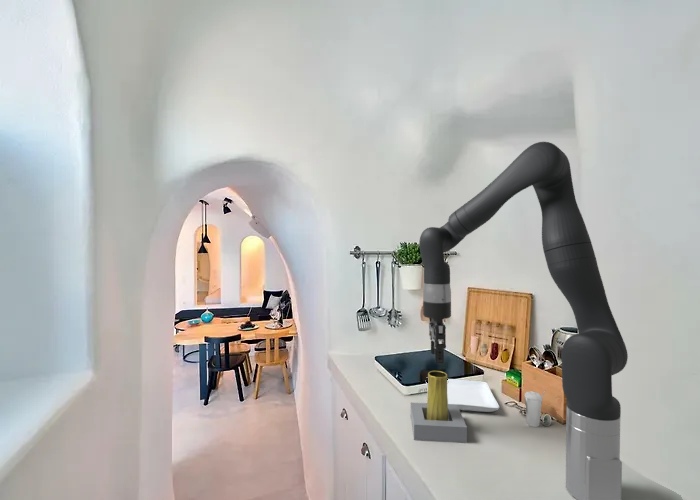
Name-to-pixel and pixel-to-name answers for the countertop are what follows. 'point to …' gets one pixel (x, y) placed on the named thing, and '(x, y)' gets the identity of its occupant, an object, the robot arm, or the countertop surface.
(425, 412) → the block
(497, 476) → the countertop surface
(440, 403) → the vase
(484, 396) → the salad plate
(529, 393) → the milkshake
